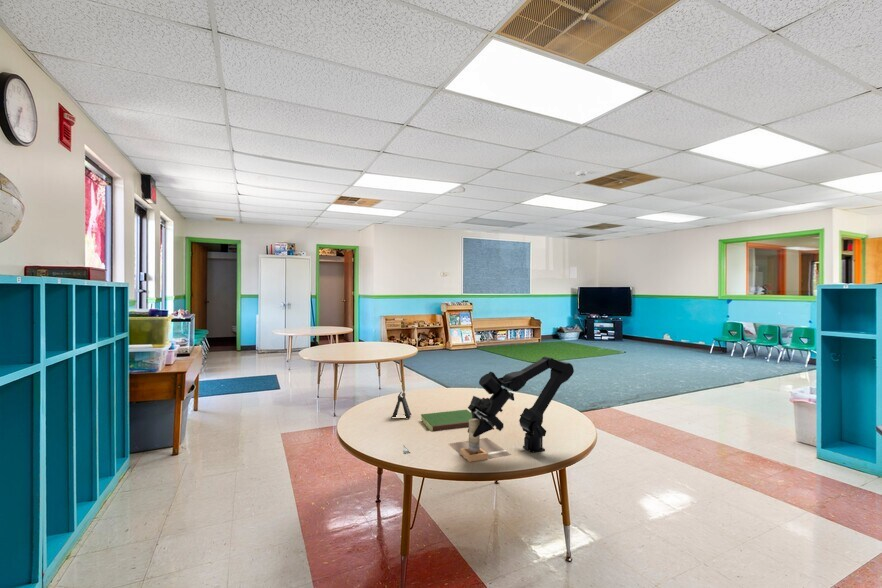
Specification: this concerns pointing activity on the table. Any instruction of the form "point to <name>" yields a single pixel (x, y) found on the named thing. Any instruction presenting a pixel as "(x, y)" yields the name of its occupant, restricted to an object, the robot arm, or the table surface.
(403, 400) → the black a-frame stand
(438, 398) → the table surface
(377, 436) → the table surface
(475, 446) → the beige cylinder
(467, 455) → the socket
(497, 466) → the table surface
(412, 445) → the table surface
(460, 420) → the hardcover book
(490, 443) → the clear acrylic sheet
